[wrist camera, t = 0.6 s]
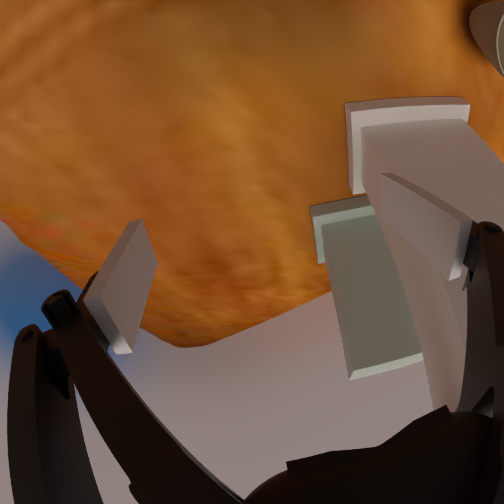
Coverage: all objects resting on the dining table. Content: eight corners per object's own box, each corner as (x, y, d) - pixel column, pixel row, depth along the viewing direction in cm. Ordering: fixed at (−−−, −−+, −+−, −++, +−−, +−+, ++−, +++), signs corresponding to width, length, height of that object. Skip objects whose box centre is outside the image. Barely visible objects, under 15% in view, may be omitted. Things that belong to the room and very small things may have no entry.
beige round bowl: (452, -24, 10) (500, -11, 6) (509, 4, 10) (552, 25, 5) (449, 52, 19) (490, 80, 14) (502, 68, 18) (539, 97, 14)
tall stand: (348, 184, 35) (418, 430, 18) (344, 103, 26) (480, 431, 8) (447, 168, 32) (538, 370, 15) (461, 96, 23) (608, 329, 5)
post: (316, 253, 48) (341, 383, 35) (309, 206, 38) (345, 369, 26) (402, 235, 45) (442, 355, 32) (413, 186, 36) (477, 329, 23)
